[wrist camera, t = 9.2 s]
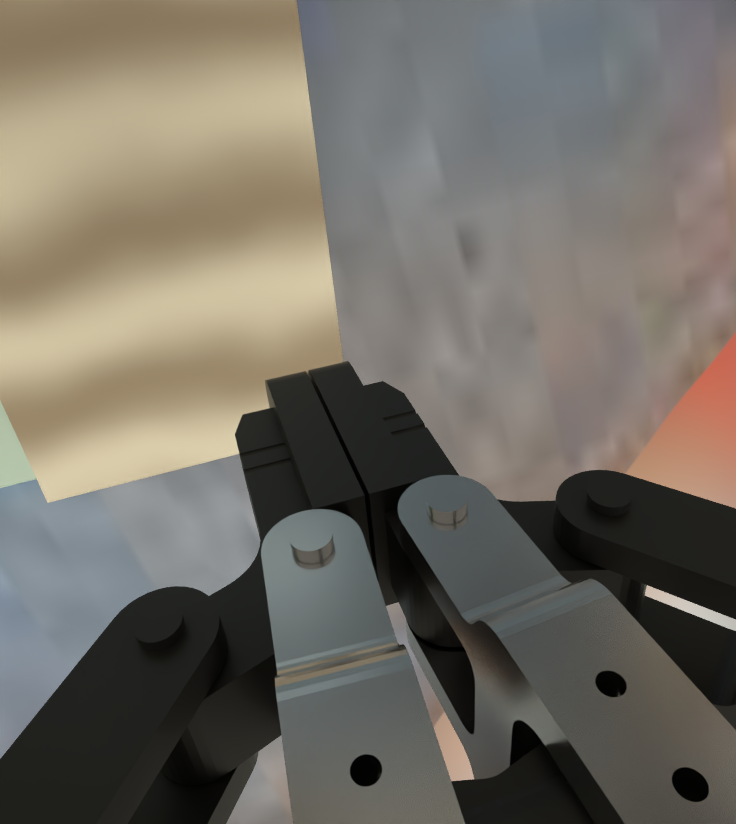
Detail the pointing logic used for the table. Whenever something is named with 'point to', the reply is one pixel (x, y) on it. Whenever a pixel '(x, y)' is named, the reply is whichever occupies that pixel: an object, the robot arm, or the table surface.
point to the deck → (154, 231)
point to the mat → (12, 455)
